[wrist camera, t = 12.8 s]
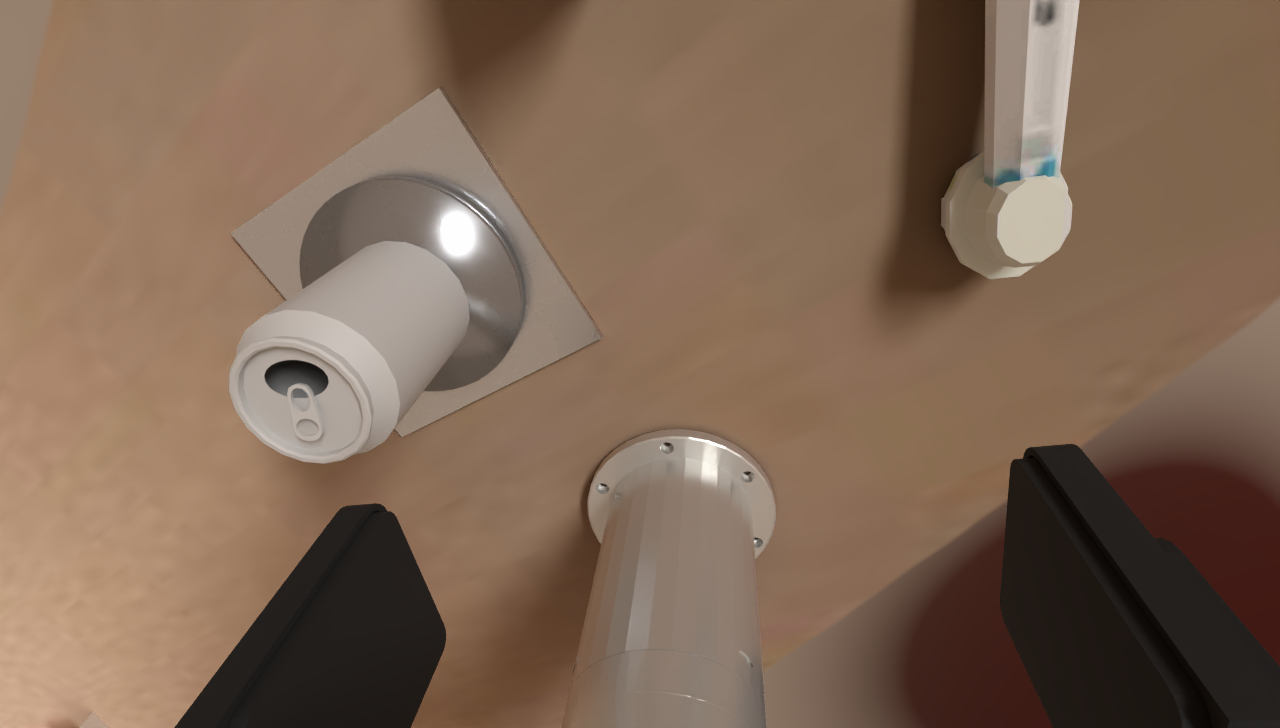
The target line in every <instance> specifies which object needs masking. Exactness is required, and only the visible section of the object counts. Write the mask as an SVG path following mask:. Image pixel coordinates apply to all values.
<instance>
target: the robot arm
mask: <svg viewBox="0 0 1280 728" xmlns="http://www.w3.org/2000/svg"><path fill="white" fill-rule="evenodd" d="M667 442H668V443H667ZM587 505H588V517H589V521H590V525H591V528H592V530H593V532H594V534H595V536H596V538H597V540H598V541H599V543H600V544H601V548H600V552H599V557H598V561H597V566H596V571H595V575H594V580H593V584H592V589H591V593H590V598H589V602H588V607H587V611H586V616H585V621H584V625H583V630H582V634H581V639H580V643H579V648H578V652H577V657H576V661H575V666H574V670H573V675H572V681H571V685H570V690H569V694H568V698H567V703H566V708H565V713H564V718H563V724H562V728H766V714H765V699H764V684H763V669H762V654H761V639H760V624H759V609H758V594H757V579H756V565H755V560H756V558H757V557H758V556H759V555H760V554H761V553H762V552H763V550H764V549H765V548H766V546H767V544H768V542H769V541H770V539H771V537H772V534H773V530H774V526H775V523H776V506H775V499H774V493H773V490H772V487H771V484H770V482H769V479H768V477H767V476H766V474H765V473H764V471H763V470H762V468H761V467H760V465H759V464H758V463H757V462H756V461H755V460H754V459H753V458H752V457H751V456H750V455H749V454H748V453H746V452H745V451H743V450H742V449H741V448H739V447H738V446H736V445H735V444H733V443H731V442H729V441H727V440H724V439H722V438H720V437H718V436H715V435H711V434H707V433H704V432H700V431H693V430H683V429H674V430H660V431H655V432H651V433H646V434H643V435H640V436H638V437H635V438H633V439H631V440H628V441H626V442H625V443H623V444H622V445H620V446H619V447H617V448H616V449H614V450H613V451H612V452H611V453H610V454H609V455H608V456H607V457H606V458H605V459H604V460H603V461H602V463H601V464H600V466H599V468H598V469H597V471H596V472H595V474H594V477H593V480H592V483H591V486H590V491H589V495H588V500H587ZM1000 605H1001V611H1002V615H1003V619H1004V622H1005V625H1006V627H1007V630H1008V631H1009V634H1010V636H1011V638H1012V640H1013V642H1014V645H1015V647H1016V649H1017V651H1018V653H1019V655H1020V657H1021V659H1022V662H1023V664H1024V666H1025V668H1026V670H1027V673H1028V675H1029V677H1030V679H1031V681H1032V683H1033V685H1034V687H1035V690H1036V692H1037V694H1038V696H1039V698H1040V700H1041V703H1042V705H1043V707H1044V709H1045V711H1046V713H1047V716H1048V718H1049V720H1050V722H1051V724H1052V726H1053V728H1280V666H1279V665H1278V664H1277V663H1276V662H1275V661H1274V659H1273V658H1272V657H1271V656H1270V655H1269V654H1268V652H1267V651H1266V650H1265V649H1264V648H1263V646H1262V645H1261V644H1260V643H1259V642H1258V641H1257V640H1256V638H1255V637H1254V636H1253V635H1252V634H1251V633H1250V631H1249V630H1248V629H1247V628H1246V627H1245V625H1244V624H1243V623H1242V622H1241V621H1240V619H1239V618H1238V617H1237V616H1236V615H1235V614H1234V613H1233V611H1232V610H1231V609H1230V608H1229V607H1228V605H1227V604H1226V603H1225V602H1224V601H1223V600H1222V598H1221V597H1220V596H1219V595H1218V594H1217V592H1216V591H1215V590H1214V589H1213V588H1212V587H1211V586H1210V584H1209V583H1208V582H1207V581H1206V580H1205V578H1204V577H1203V576H1202V575H1201V574H1200V573H1199V571H1198V570H1197V569H1196V568H1195V567H1194V565H1193V564H1192V563H1191V562H1190V561H1189V560H1188V558H1187V557H1186V556H1185V555H1184V554H1183V553H1182V552H1181V551H1180V550H1179V549H1178V548H1177V547H1176V546H1175V545H1174V544H1173V543H1172V542H1170V541H1168V540H1165V539H1163V538H1153V536H1152V535H1151V534H1150V533H1149V531H1148V530H1147V529H1146V528H1145V527H1144V525H1143V524H1142V523H1141V522H1140V521H1139V519H1138V518H1137V517H1136V516H1135V514H1134V513H1133V512H1132V511H1131V510H1130V508H1129V507H1128V506H1127V505H1126V503H1125V502H1124V501H1123V500H1122V499H1121V497H1120V496H1119V495H1118V494H1117V492H1116V491H1115V490H1114V489H1113V488H1112V486H1111V485H1110V484H1109V483H1108V482H1107V480H1106V479H1105V478H1104V477H1103V475H1102V474H1101V473H1100V472H1099V471H1098V469H1097V468H1096V467H1095V466H1094V464H1093V463H1092V462H1091V461H1090V460H1089V458H1088V457H1087V456H1086V455H1085V454H1084V452H1083V451H1082V450H1081V449H1080V448H1079V447H1078V446H1077V445H1074V444H1065V445H1053V446H1042V447H1030V448H1028V449H1026V451H1025V453H1024V457H1023V459H1015V460H1013V461H1012V463H1011V467H1010V478H1009V491H1008V503H1007V516H1006V529H1005V542H1004V555H1003V568H1002V581H1001V593H1000ZM445 642H446V630H445V626H444V623H443V621H442V619H441V617H440V614H439V612H438V610H437V608H436V605H435V603H434V601H433V599H432V596H431V594H430V592H429V590H428V587H427V585H426V583H425V581H424V578H423V576H422V574H421V572H420V569H419V567H418V565H417V563H416V560H415V558H414V556H413V553H412V551H411V549H410V547H409V544H408V542H407V540H406V538H405V535H404V533H403V531H402V529H401V526H400V524H399V522H398V520H397V518H396V516H395V514H393V513H392V512H387V510H386V508H385V507H384V506H382V505H381V504H364V505H352V506H345V507H343V508H341V509H340V510H339V511H338V512H337V513H336V515H335V516H334V517H333V519H332V520H331V521H330V523H329V524H328V525H327V526H326V528H325V529H324V530H323V532H322V533H321V534H320V536H319V537H318V538H317V540H316V541H315V542H314V544H313V545H312V546H311V548H310V549H309V550H308V552H307V553H306V554H305V556H304V557H303V558H302V560H301V561H300V562H299V564H298V565H297V566H296V568H295V569H294V570H293V571H292V573H291V574H290V575H289V577H288V578H287V579H286V581H285V582H284V583H283V585H282V586H281V587H280V589H279V590H278V591H277V593H276V594H275V595H274V597H273V598H272V599H271V601H270V602H269V603H268V605H267V606H266V607H265V609H264V610H263V611H262V613H261V614H260V615H259V616H258V618H257V619H256V620H255V622H254V623H253V624H252V626H251V627H250V628H249V630H248V631H247V632H246V634H245V635H244V636H243V638H242V639H241V640H240V642H239V643H238V644H237V646H236V647H235V648H234V650H233V651H232V652H231V654H230V655H229V656H228V657H227V659H226V660H225V661H224V663H223V664H222V665H221V667H220V668H219V669H218V671H217V672H216V673H215V675H214V676H213V677H212V679H211V680H210V681H209V683H208V684H207V685H206V687H205V688H204V689H203V691H202V692H201V693H200V695H199V696H198V697H197V699H196V700H195V701H194V702H193V704H192V705H191V706H190V708H189V709H188V710H187V712H186V713H185V714H184V716H183V717H182V718H181V720H180V721H179V722H178V724H177V725H176V726H175V728H411V725H412V723H413V721H414V718H415V716H416V714H417V711H418V709H419V707H420V704H421V702H422V700H423V697H424V695H425V693H426V690H427V688H428V686H429V683H430V681H431V679H432V676H433V674H434V672H435V669H436V667H437V665H438V662H439V660H440V658H441V655H442V653H443V650H444V647H445Z"/></svg>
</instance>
